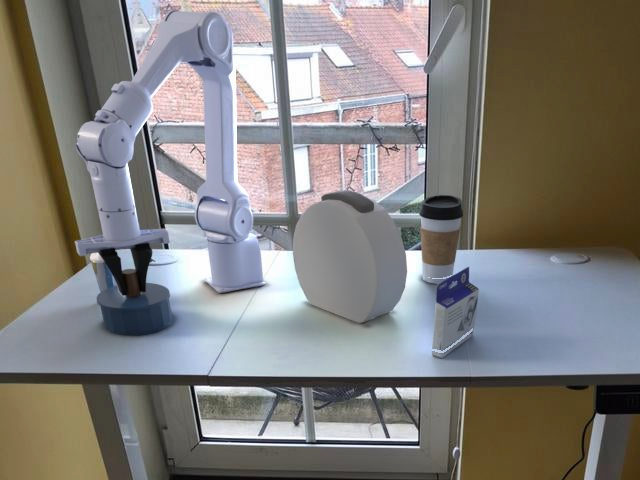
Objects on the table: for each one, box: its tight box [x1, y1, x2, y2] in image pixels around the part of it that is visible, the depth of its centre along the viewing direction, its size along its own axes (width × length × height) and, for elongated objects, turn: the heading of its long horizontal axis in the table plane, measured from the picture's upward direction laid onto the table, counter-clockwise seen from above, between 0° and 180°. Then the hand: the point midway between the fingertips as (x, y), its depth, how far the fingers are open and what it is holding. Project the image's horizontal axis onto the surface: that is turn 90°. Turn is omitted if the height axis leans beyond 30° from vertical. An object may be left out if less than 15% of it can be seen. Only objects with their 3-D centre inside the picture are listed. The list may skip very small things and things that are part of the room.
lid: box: [96, 268, 171, 311], centre depth 123 cm, size 12×12×5 cm
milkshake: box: [89, 250, 118, 293], centre depth 132 cm, size 4×5×10 cm
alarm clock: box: [292, 189, 408, 324], centre depth 128 cm, size 21×8×20 cm, turn 47°
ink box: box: [431, 266, 480, 359], centre depth 118 cm, size 12×2×12 cm, turn 148°
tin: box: [99, 298, 173, 336], centre depth 126 cm, size 11×11×4 cm
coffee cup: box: [418, 194, 464, 285], centre depth 142 cm, size 8×8×15 cm
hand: (133, 291), depth 124 cm, fingers closed on lid, 2 cm apart
